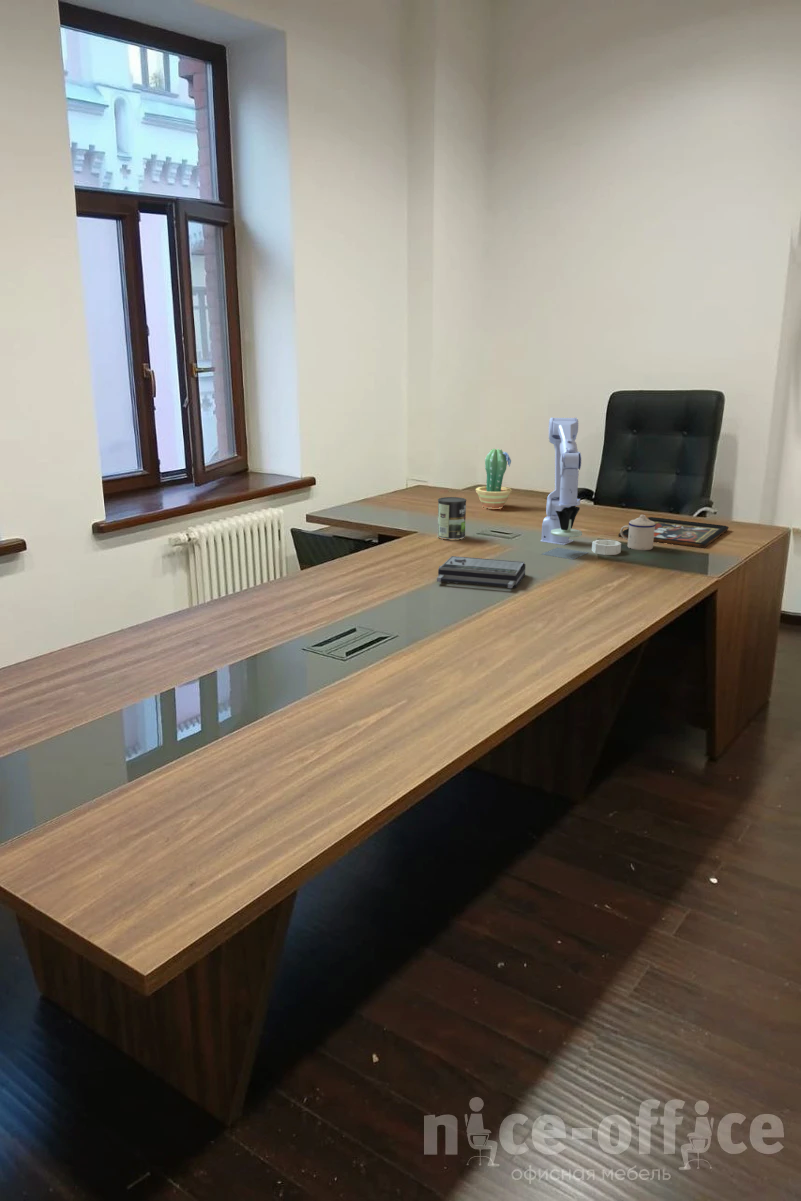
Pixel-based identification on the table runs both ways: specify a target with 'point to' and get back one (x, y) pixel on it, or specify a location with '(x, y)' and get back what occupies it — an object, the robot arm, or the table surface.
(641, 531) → the teacup with lid
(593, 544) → the bowl
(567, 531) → the lid
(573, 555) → the mat
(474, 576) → the radio
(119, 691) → the table surface
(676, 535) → the framed painting
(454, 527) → the coffee can
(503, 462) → the potted cactus
